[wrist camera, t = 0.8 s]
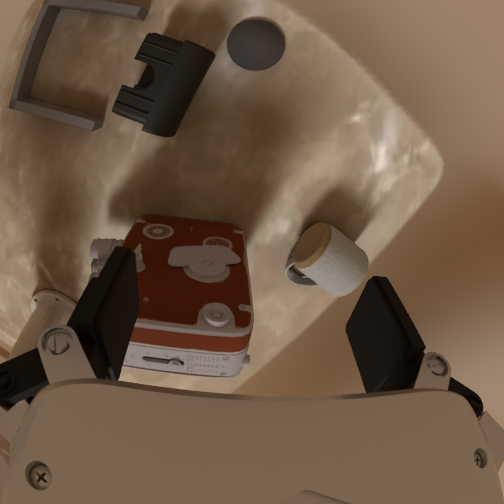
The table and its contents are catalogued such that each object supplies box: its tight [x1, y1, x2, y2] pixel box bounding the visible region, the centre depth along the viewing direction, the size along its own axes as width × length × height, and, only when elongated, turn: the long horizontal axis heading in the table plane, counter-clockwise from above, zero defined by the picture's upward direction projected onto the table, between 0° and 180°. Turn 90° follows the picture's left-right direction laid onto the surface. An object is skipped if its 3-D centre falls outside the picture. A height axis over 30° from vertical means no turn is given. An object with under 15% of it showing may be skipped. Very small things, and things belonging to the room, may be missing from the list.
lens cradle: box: [7, 0, 148, 131], centre depth 24 cm, size 15×14×3 cm
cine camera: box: [88, 215, 254, 379], centre depth 31 cm, size 9×19×20 cm, turn 80°
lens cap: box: [227, 20, 285, 70], centre depth 28 cm, size 6×6×1 cm
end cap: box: [112, 33, 216, 137], centre depth 26 cm, size 10×7×7 cm
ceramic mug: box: [285, 222, 368, 296], centre depth 39 cm, size 11×8×8 cm
